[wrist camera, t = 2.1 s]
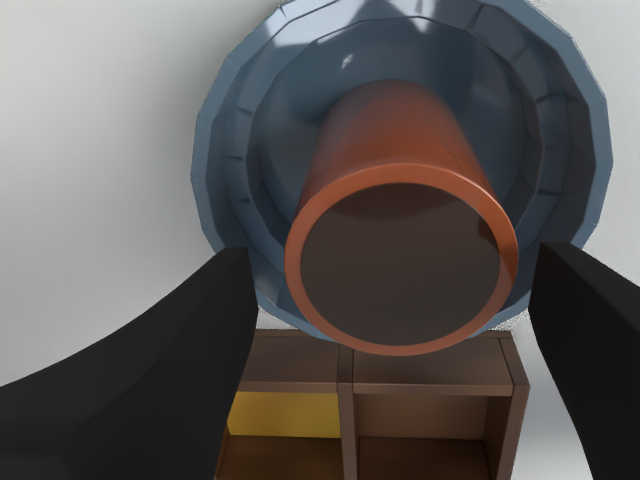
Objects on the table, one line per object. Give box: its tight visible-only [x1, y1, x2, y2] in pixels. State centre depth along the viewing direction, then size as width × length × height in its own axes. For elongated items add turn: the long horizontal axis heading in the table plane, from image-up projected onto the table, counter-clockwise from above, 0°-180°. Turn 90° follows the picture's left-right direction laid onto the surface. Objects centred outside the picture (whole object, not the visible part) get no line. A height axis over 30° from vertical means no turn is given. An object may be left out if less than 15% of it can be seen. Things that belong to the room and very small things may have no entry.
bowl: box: [190, 0, 613, 344], centre depth 17 cm, size 13×13×4 cm
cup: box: [283, 79, 519, 356], centre depth 15 cm, size 6×6×8 cm
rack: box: [214, 330, 530, 480], centre depth 25 cm, size 16×8×4 cm, turn 94°
